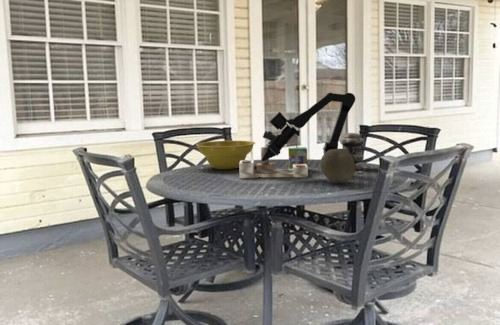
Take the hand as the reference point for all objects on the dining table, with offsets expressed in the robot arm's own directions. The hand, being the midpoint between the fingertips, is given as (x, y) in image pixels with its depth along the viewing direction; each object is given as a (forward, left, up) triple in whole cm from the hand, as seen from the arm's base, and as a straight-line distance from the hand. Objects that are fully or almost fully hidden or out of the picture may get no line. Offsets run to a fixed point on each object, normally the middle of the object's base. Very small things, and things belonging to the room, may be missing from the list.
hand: (262, 160), depth 244 cm
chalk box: (+12, -21, -8) cm, 26 cm away
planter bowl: (+37, +12, -8) cm, 39 cm away
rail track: (-1, -5, -8) cm, 9 cm away
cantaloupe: (-33, -25, -8) cm, 43 cm away
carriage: (0, -1, -4) cm, 4 cm away
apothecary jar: (+7, -48, -8) cm, 49 cm away
